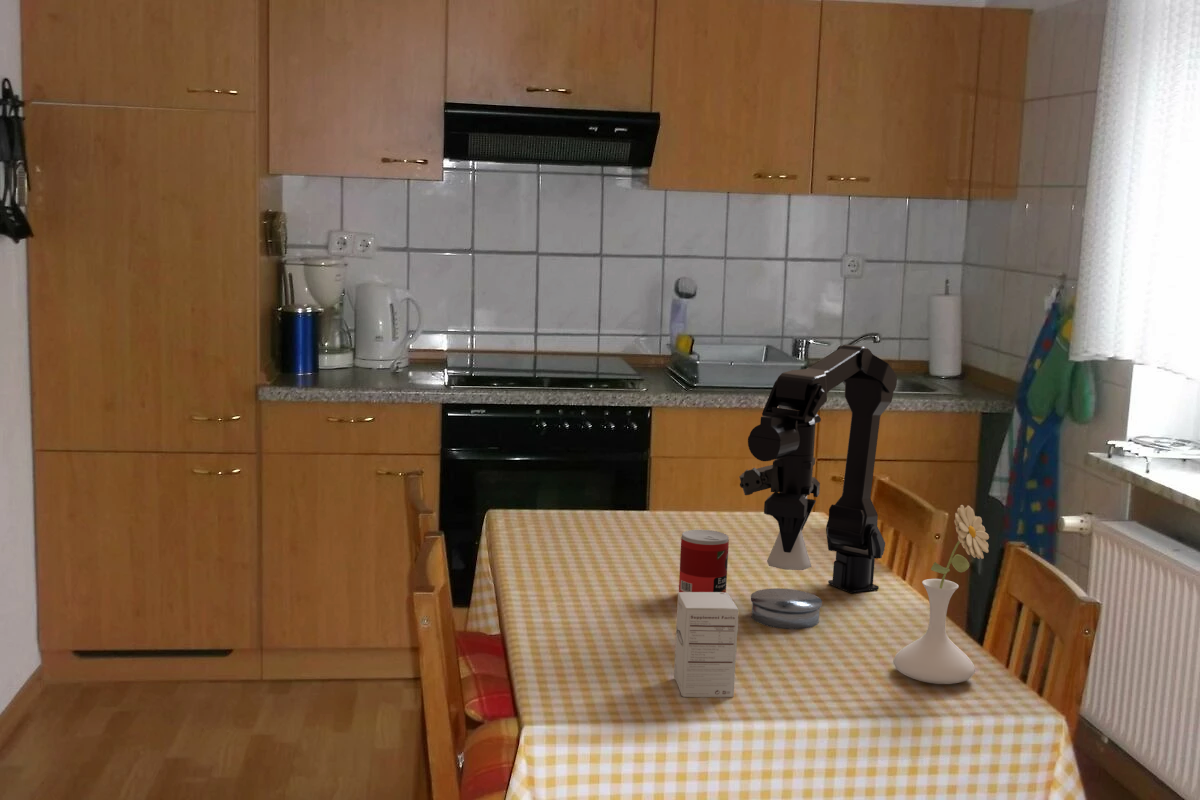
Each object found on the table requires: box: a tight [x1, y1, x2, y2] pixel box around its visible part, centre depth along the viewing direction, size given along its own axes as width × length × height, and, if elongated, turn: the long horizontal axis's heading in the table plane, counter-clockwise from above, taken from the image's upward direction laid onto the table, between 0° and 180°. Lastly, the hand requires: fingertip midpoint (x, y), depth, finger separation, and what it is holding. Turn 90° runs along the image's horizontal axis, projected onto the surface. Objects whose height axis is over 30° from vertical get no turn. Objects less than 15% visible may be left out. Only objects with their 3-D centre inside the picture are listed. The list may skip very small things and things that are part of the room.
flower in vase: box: [892, 504, 990, 685], centre depth 184 cm, size 13×11×25 cm
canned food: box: [678, 529, 730, 593], centre depth 218 cm, size 8×8×11 cm
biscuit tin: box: [750, 587, 823, 630], centre depth 210 cm, size 11×11×4 cm
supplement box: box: [673, 591, 739, 698], centre depth 177 cm, size 7×7×13 cm
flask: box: [766, 530, 812, 571], centre depth 208 cm, size 7×7×10 cm
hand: (789, 548), depth 208 cm, fingers closed on flask, 5 cm apart
